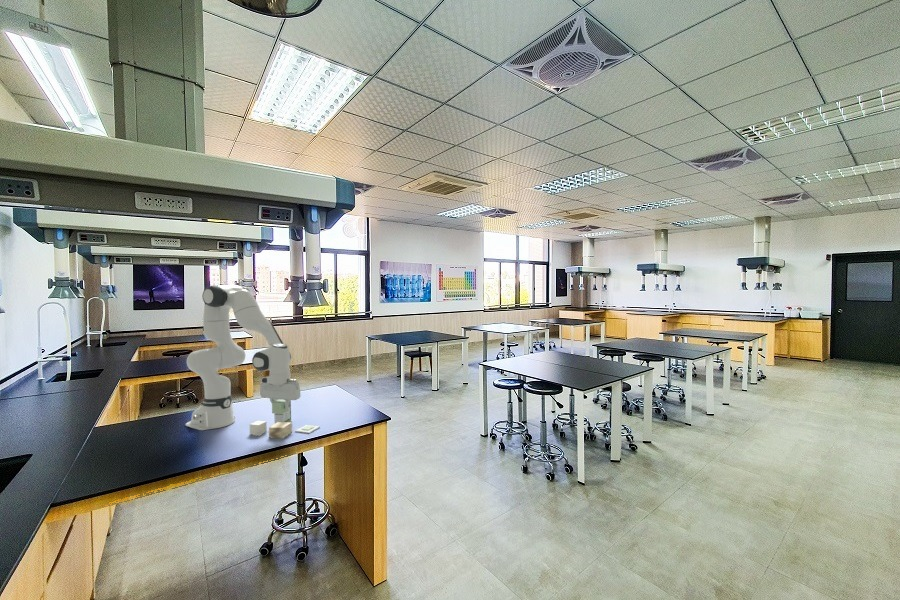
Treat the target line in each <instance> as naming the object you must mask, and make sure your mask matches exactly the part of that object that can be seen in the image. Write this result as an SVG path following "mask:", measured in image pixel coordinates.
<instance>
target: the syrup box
mask: <svg viewBox="0 0 900 600" xmlns="http://www.w3.org/2000/svg"><path fill="white" fill-rule="evenodd" d="M277 400H285V399H275V401H277ZM291 402H292V400H291V401H290V403H289V411H287V412H285V413H283V414H275V413H273V414H274V415H273V416H274V424H275V423H277V422H291V421H292V403H291Z"/></svg>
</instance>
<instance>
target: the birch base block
mask: <svg viewBox="0 0 900 600" xmlns="http://www.w3.org/2000/svg"><path fill="white" fill-rule="evenodd" d="M292 429H293V428H292V422H291V421H289V422H277V423H275V422H274V424H272V425H270V426H269V427H268V438H269V437H274V438H273V439H285V438H286V437H287V436H289V435H290V434H292V433H291V432H293V431H292ZM288 434H289V435H288ZM285 436H286V437H285ZM284 437H285V438H284Z"/></svg>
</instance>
